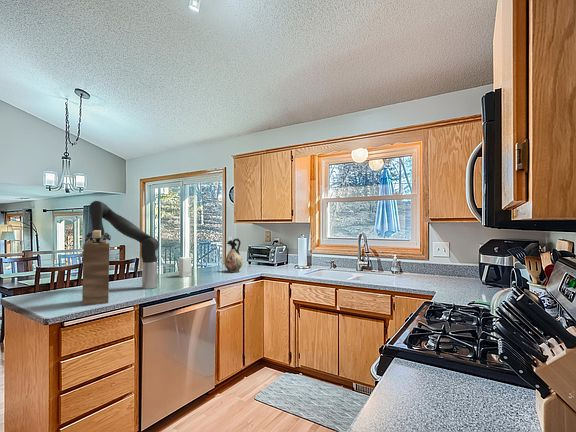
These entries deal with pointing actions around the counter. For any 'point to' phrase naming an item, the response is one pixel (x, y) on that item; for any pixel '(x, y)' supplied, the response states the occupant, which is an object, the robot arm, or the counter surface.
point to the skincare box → (184, 266)
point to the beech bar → (96, 234)
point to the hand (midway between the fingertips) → (97, 231)
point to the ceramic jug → (233, 257)
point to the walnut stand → (95, 273)
